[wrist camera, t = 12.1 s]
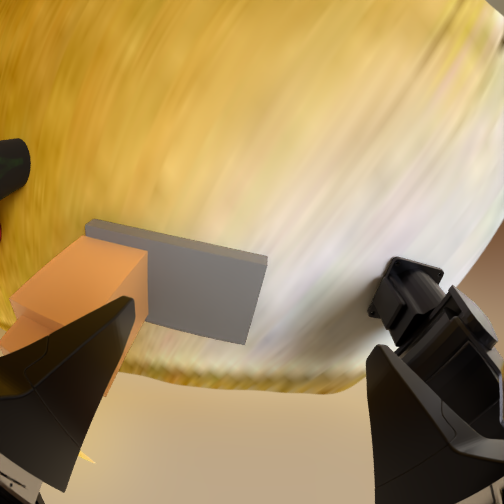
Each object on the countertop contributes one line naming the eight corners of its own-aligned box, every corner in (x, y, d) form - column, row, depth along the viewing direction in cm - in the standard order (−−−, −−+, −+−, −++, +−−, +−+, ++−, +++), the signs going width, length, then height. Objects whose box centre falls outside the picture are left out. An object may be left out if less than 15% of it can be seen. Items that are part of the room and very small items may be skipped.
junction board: (267, 256, 22) (266, 287, 18) (245, 334, 26) (241, 368, 22) (93, 218, 22) (65, 238, 18) (100, 296, 26) (80, 322, 22)
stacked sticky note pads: (147, 251, 21) (58, 372, 9) (148, 313, 24) (91, 429, 12) (82, 235, 21) (-17, 325, 9) (90, 295, 24) (20, 389, 12)
